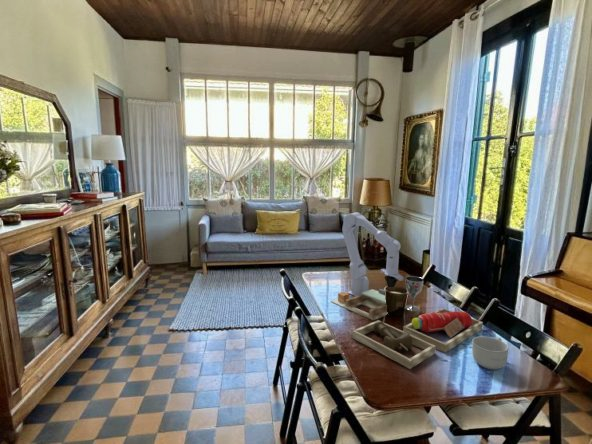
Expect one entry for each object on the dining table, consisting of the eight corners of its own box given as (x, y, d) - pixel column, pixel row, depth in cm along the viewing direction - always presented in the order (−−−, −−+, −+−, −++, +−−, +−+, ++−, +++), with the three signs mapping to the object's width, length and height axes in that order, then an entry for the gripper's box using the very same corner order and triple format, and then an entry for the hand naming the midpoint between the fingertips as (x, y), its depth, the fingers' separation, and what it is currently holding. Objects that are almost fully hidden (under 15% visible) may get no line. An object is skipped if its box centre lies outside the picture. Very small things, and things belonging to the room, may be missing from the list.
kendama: (388, 331, 139) (419, 356, 120) (368, 335, 136) (396, 360, 117) (388, 318, 138) (419, 340, 119) (368, 321, 135) (396, 345, 116)
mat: (344, 297, 174) (344, 296, 174) (356, 302, 167) (356, 301, 167) (330, 301, 168) (330, 300, 167) (342, 307, 161) (342, 306, 161)
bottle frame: (441, 314, 155) (442, 307, 154) (482, 328, 141) (483, 322, 140) (402, 333, 136) (403, 326, 135) (445, 352, 122) (445, 345, 121)
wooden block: (343, 299, 170) (343, 291, 169) (349, 301, 167) (349, 293, 166) (337, 300, 168) (338, 293, 167) (343, 303, 165) (343, 295, 164)
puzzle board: (370, 297, 173) (370, 290, 173) (399, 309, 159) (400, 301, 159) (343, 307, 161) (344, 299, 161) (373, 320, 147) (373, 311, 147)
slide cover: (372, 290, 172) (372, 285, 171) (397, 300, 160) (398, 294, 159) (361, 294, 166) (361, 289, 166) (387, 304, 154) (387, 298, 154)
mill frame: (377, 326, 142) (378, 320, 141) (435, 353, 121) (435, 345, 121) (352, 337, 132) (352, 330, 131) (409, 369, 112) (410, 360, 111)
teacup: (493, 377, 108) (496, 354, 107) (463, 360, 117) (465, 339, 116) (518, 365, 114) (520, 344, 113) (487, 350, 124) (490, 330, 122)
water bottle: (482, 322, 132) (424, 326, 128) (477, 339, 135) (421, 343, 131) (463, 305, 143) (409, 308, 139) (459, 321, 146) (406, 324, 142)
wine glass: (403, 310, 159) (405, 280, 156) (404, 304, 166) (406, 275, 164) (420, 313, 156) (423, 282, 153) (421, 306, 163) (423, 277, 161)
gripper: (376, 261, 171) (375, 286, 173) (396, 269, 158) (395, 296, 160) (387, 260, 174) (385, 284, 176) (407, 267, 161) (405, 294, 163)
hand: (390, 290), depth 168 cm, fingers closed
